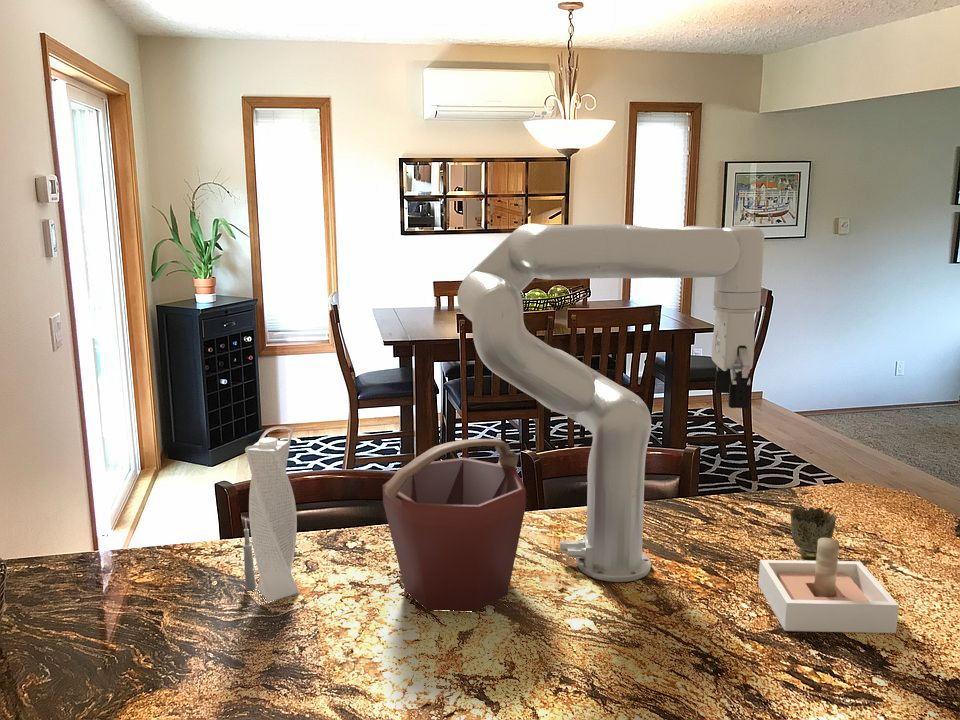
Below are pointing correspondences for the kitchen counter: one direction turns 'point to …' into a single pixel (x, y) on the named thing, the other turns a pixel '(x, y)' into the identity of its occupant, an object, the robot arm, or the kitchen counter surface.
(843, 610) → the open-top box
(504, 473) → the bucket
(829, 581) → the birch peg
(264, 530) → the skyscraper
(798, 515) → the cup
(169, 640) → the kitchen counter surface
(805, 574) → the bored plate
